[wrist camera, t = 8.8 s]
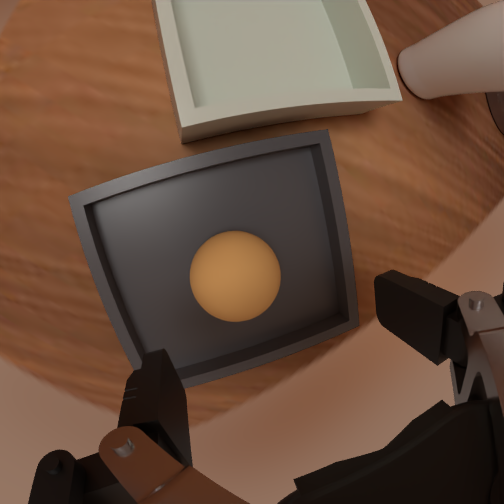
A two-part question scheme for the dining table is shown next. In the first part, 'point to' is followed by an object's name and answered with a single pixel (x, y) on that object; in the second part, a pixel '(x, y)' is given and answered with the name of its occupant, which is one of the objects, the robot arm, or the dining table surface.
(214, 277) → the ball
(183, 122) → the open box
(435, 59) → the drinking glass
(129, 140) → the dining table surface
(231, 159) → the tray
